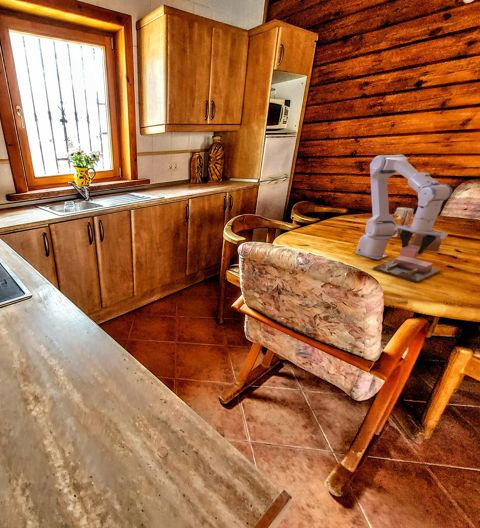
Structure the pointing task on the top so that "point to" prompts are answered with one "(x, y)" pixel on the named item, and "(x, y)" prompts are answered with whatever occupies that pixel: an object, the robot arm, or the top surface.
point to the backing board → (408, 268)
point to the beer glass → (402, 218)
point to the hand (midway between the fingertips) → (411, 251)
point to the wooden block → (433, 246)
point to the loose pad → (410, 251)
